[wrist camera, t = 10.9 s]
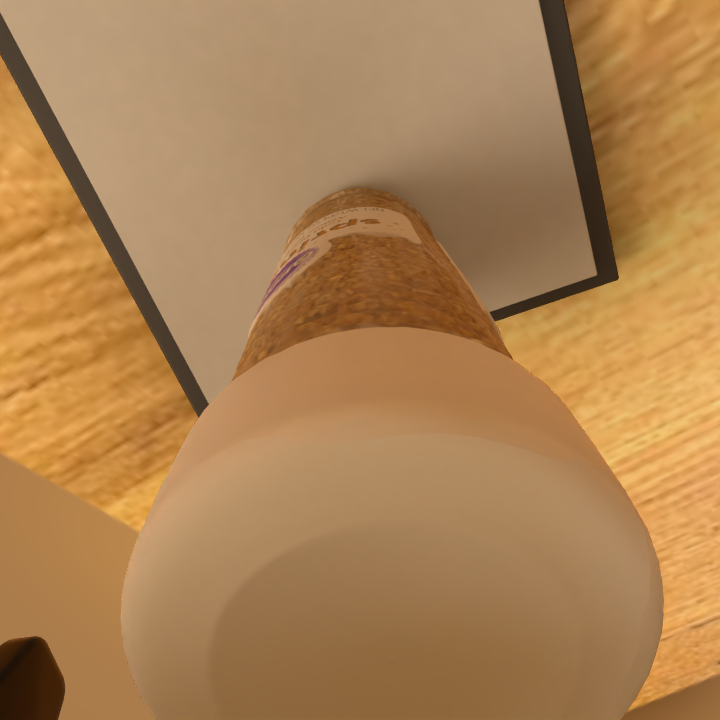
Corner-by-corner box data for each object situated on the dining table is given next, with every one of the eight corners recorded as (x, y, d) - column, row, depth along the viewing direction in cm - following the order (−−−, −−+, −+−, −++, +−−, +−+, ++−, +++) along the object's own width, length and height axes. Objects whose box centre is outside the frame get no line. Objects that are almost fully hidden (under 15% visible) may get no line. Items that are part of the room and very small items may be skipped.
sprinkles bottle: (322, 157, 16) (226, 303, 3) (468, 230, 17) (817, 562, 4) (258, 303, 17) (36, 770, 5) (395, 364, 18) (496, 893, 6)
